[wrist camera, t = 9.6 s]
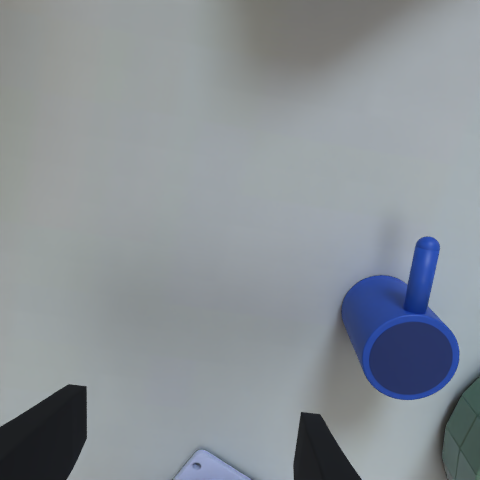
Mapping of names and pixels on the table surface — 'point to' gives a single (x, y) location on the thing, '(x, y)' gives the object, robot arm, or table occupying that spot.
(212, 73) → the table surface
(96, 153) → the table surface
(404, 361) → the scoop
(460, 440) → the green plant saucer
